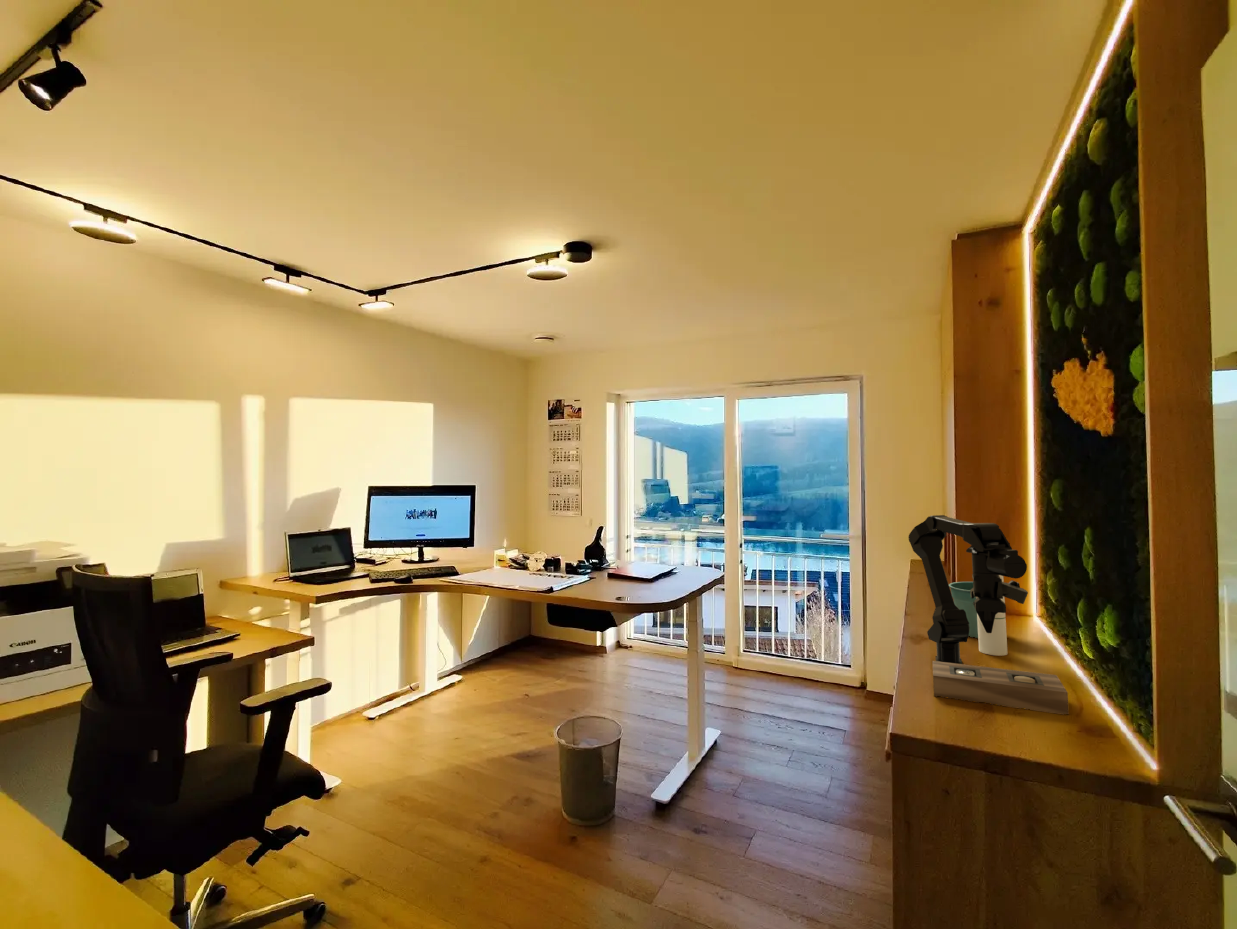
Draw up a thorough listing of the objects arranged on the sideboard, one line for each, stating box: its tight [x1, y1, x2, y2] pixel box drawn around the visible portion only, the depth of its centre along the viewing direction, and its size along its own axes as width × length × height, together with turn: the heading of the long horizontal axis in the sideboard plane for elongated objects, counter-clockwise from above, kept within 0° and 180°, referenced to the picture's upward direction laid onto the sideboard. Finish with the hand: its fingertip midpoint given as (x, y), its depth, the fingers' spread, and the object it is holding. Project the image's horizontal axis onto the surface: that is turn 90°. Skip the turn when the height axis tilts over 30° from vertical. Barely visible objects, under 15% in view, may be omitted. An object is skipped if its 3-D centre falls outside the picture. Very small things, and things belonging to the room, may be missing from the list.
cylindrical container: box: [976, 575, 1008, 657], centre depth 166 cm, size 7×7×25 cm
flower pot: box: [948, 581, 1006, 639], centre depth 185 cm, size 16×16×16 cm
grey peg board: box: [932, 660, 1070, 715], centre depth 134 cm, size 12×26×5 cm, turn 61°
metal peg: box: [956, 669, 975, 676], centre depth 136 cm, size 4×4×5 cm
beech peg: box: [1014, 676, 1035, 683], centre depth 131 cm, size 4×4×5 cm
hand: (988, 632), depth 142 cm, fingers closed
